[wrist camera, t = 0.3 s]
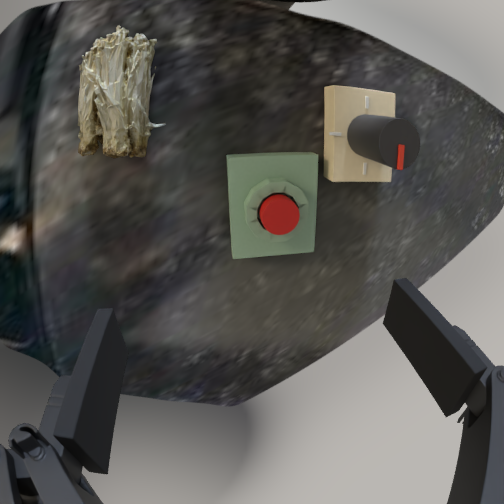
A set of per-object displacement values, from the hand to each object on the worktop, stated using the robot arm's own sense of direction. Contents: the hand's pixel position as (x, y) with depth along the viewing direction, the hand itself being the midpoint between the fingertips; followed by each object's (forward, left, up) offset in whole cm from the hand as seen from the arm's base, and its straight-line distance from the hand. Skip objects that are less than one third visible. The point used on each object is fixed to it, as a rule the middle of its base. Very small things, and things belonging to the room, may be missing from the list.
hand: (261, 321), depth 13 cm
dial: (-6, +16, -21) cm, 27 cm away
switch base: (+2, +5, -24) cm, 24 cm away
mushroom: (-12, -11, -24) cm, 29 cm away
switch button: (+2, +5, -20) cm, 21 cm away
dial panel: (-6, +16, -24) cm, 29 cm away
